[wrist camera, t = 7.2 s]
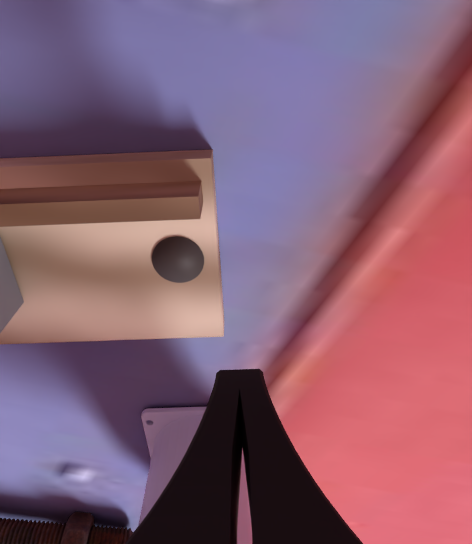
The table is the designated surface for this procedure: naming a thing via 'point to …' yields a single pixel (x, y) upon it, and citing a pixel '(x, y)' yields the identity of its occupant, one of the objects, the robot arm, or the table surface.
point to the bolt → (61, 532)
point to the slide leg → (8, 290)
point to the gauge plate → (112, 246)
